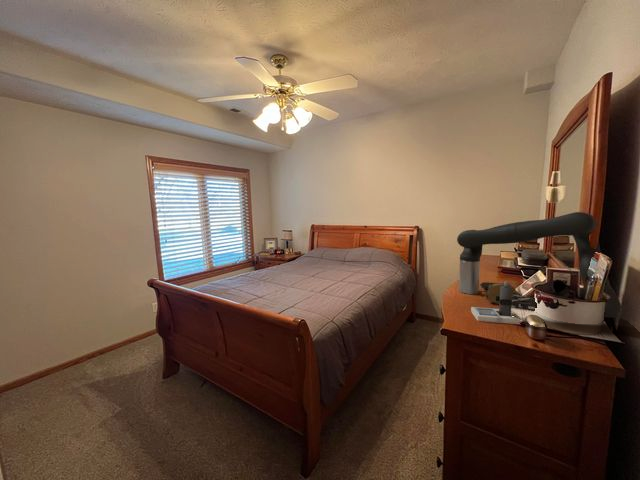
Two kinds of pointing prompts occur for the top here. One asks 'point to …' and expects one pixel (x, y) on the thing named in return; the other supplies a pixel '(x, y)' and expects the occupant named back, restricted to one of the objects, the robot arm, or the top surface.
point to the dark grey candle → (507, 295)
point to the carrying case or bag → (486, 285)
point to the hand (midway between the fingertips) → (497, 300)
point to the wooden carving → (496, 292)
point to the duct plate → (494, 315)
